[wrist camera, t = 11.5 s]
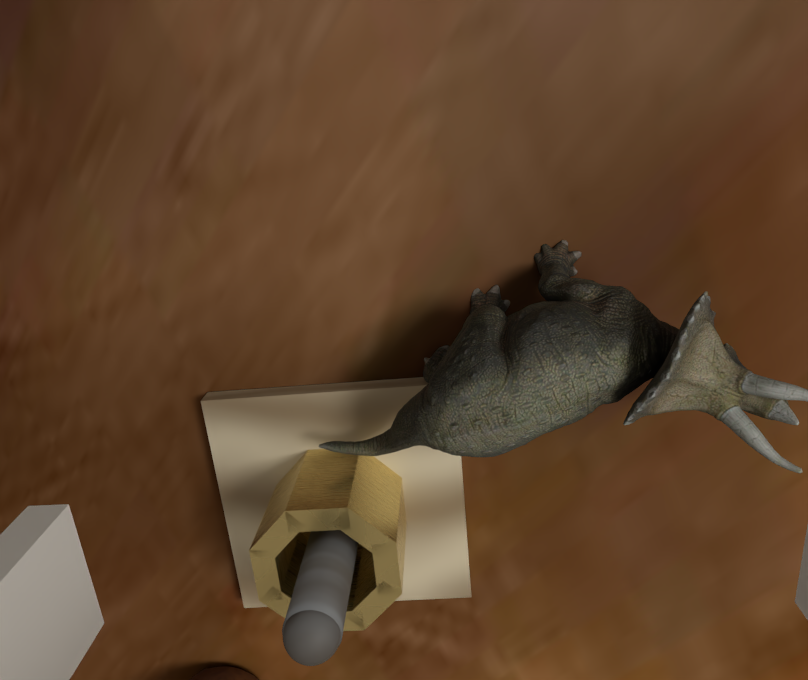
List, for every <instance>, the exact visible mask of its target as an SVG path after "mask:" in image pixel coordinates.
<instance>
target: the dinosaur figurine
mask: <svg viewBox="0 0 808 680" xmlns="http://www.w3.org/2000/svg"><path fill="white" fill-rule="evenodd" d="M580 256H581V252H580V251H572V252H569V251H568V242H567V241H566V240H562V241H560V242H559V243H558V244H557V245H556V246H555V247H554V248H551V247H550V246H548V245H547V244H543V245H542V247H541V253H536V254H535V256H534V259H535V262H536V263H537V267H538V270H539V272H540V274H541V278H540V280H539V284H538V289H539V291H540V293H541V295H542V296H543V297H544V298H545V300H546V301H548V302H539V303H534V304H531V305H529V306H526V307H525V308H523V309H522V310H520V311H518V312H515V313H513V314H511V315H509V316H507V317H506V315H505V313H504V312H505V311H506V310H507V309H508V307H509V306H510V301H509V300H502V299H501V295H500V288H499V286H498V285H495V286H493V287H492V288H491V289H490V290H489V291H488V292H487V293H486V294H483V293H482V292H481V290H480V289H475V290H474V291H473V293H472V295H471V310H470V315H469V316H468V317H467V319H466V321H465V323H464V324H463V327H462V329H461V331H460V332H459V334H458V335H457V337H456V339H455V340H454V342H453V343H452V345H451V346H449V345H445V346H442V347H439V348H438V349H437V350H436V351H435V353H434V354H433V355H432V356H431V357H430V358H424V361H425V366H424V370H423V377H424V379H425V381H426V382H427V383H428V384H427V385H426V386H425V387H424V388H423V389H422V390H421V391H420V392H418V393H417V394H416V395H415V396H414V397H412V398H411V399H410V400H409V401H408V402H407V403H406V404H405V405H404V406H403V407H402V408H401V409H400V410H399V412H398V413H397V415H396V417H395V419H394V421H393V424H392V426H391V428H390V429H388V430H387V431H385V432H384V433H382V434H380V435H378V436H375V437H373V438H370V439H367V440H363V441H356V442H353V441H330V442H326V443H322V444H319V447H320V448H323V449H326V450H329V451H332V452H338V453H342V454H350V455H360V456H379V455H384V454H389V453H393V452H397V451H400V450H403V449H407V448H410V447H413V446H419V445H420V446H427V447H430V448H432V449H434V450H440V451H442V452H445V453H448V454H451V455H455V456H471V457H493V456H497V455H500V454H503V453H506V452H508V451H511V450H513V449H515V448H517V447H519V446H522V445H525V444H527V443H528V442H530V441H531V440H533V439H535V438H536V437H538V436H541V435H542V434H545V433H547V432H551V431H553V430H555V429H558V428H561V427H563V426H566V425H569V424H572V423H574V422H576V421H578V420H580V419H582V418H584V417H585V416H586V415H588V414H589V413H591V412H593V411H594V410H595V409H596V408H597V407H598V406H600V405H602V404H609V403H614V402H618V401H619V400H621V399H622V398H623V397H624V396H626V395H627V394H629V393H630V392H632V391H633V390H635V389H636V388H638V387H639V386H640V385H642V384H643V383H645V382H646V381H648V380H650V379H652V378H653V379H652V381H651V382H650V383H649V385H648V386H647V387H646V388H645V390H644V391H643V392H642V394H641V395H640V396H639V397H638V399H637V400H636V401H635V402H634V404H633V406H632V408H631V409H630V411H629V412H628V414H627V417H626V419H625V421H624V423H623V424H624V425H626V424H627V425H628V424H630V423H633V422H635V421H636V420H637V419H639V418H640V417H643V416H646V415H655V414H660V413H664V412H672V411H678V410H698V411H702V412H705V413H708V414H710V415H712V416H714V417H715V418H716V419H717V420H720V421H722V422H723V423H724V424H726V425H727V426H728V427H729V428H730V429H732V430H733V431H734V432H735V433H736V434H737V435H738V436H739V437H740V438H741V439H742V440H744V441H745V442H746V443H747V444H748V445H749V446H751V447H752V448H753V449H755V450H756V451H757V452H759V453H760V454H761V455H763V456H764V457H766V458H767V459H769V460H770V461H772V462H773V463H775V464H777V465H779V466H781V467H783V468H786V469H788V470H790V471H794V472H797V473H802V469H801V468H799V467H797V466H795V465H793V464H792V463H790V462H788V461H787V460H785V459H784V458H783V457H781V456H780V455H779V454H778V453H777V452H776V451H775V450H774V449H773V447H772V446H771V445H770V444H769V442H768V441H767V440H766V438H765V437H764V436H763V434H762V433H761V432H760V430H759V429H758V428H757V427H756V426H755V425H754V423H753V422H752V421H751V420H750V419H749V418H748V416H747V415H746V414H745V413H744V412H743V411H742V410H744V411H746V412H748V413H751V414H754V415H757V416H760V417H763V418H766V419H770V420H777V421H781V422H784V423H787V424H792V425H798V424H799V421H798V419H797V417H796V416H795V414H794V413H793V411H792V410H791V409H790V407H789V404H788V401H787V400H802V401H808V390H807V389H804V388H801V387H798V386H795V385H792V384H788V383H785V382H781V381H777V380H773V379H769V378H766V377H762V376H759V375H756V374H753V373H752V372H751V371H750V370H747V369H746V368H745V367H744V366H743V365H742V364H741V362H740V361H739V360H738V357H737V355H736V352H735V350H734V349H733V348H732V347H731V346H730V345H728V344H727V343H726V344H724V345H723V344H722V342H721V340H720V337H719V335H718V333H717V332H716V330H715V328H714V316H715V314H716V313H715V312H714V311H712V310H711V309H710V296H708V292H704V293H703V294H702V295H701V296H700V297H699V298H698V299H697V301H696V302H695V303H694V304H693V306H692V307H691V309H690V311H689V312H688V314H687V316H686V317H685V319H684V321H683V323H682V325H681V327H680V329H677V328H676V327H673V326H671V325H669V324H667V323H665V322H662V321H659V320H658V319H657V318H656V317H655V316H654V315H653V314H652V313H651V312H650V310H649V308H647V307H646V306H645V305H644V304H643V303H641V302H639V301H638V300H636V298H635V297H634V296H633V294H632V293H631V292H630V291H628V290H627V289H625V288H624V287H621V286H605V285H601V284H598V283H596V282H594V281H592V280H586V279H580V278H570V277H571V276H574V275H576V274H577V270H576V269H575V267H574V266H573V264H574V262H575V261H576V260H577V259H578V258H580Z"/></svg>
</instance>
